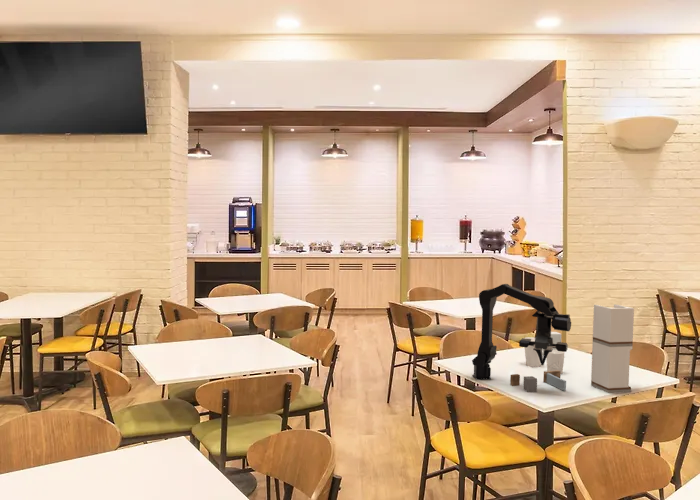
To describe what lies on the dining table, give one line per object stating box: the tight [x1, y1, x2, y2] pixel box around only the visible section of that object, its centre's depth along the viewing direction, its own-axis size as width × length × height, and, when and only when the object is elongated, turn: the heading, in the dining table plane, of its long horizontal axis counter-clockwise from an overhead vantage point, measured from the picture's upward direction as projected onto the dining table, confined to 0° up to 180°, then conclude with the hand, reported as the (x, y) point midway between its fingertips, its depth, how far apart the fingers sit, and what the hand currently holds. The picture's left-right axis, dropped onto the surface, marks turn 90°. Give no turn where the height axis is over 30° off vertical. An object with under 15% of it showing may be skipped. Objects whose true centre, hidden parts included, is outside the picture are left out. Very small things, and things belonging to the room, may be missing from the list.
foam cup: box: [524, 336, 543, 368], centre depth 281 cm, size 10×9×13 cm
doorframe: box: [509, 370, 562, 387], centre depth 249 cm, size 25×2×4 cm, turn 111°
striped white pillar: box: [590, 304, 635, 394], centre depth 242 cm, size 11×11×35 cm
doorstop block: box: [522, 375, 538, 393], centre depth 238 cm, size 4×4×6 cm
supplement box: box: [542, 331, 562, 355], centre depth 301 cm, size 7×7×13 cm
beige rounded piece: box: [546, 350, 565, 375], centre depth 268 cm, size 8×8×10 cm
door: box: [546, 373, 567, 392], centre depth 244 cm, size 13×2×4 cm, turn 13°
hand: (542, 365), depth 240 cm, fingers closed
